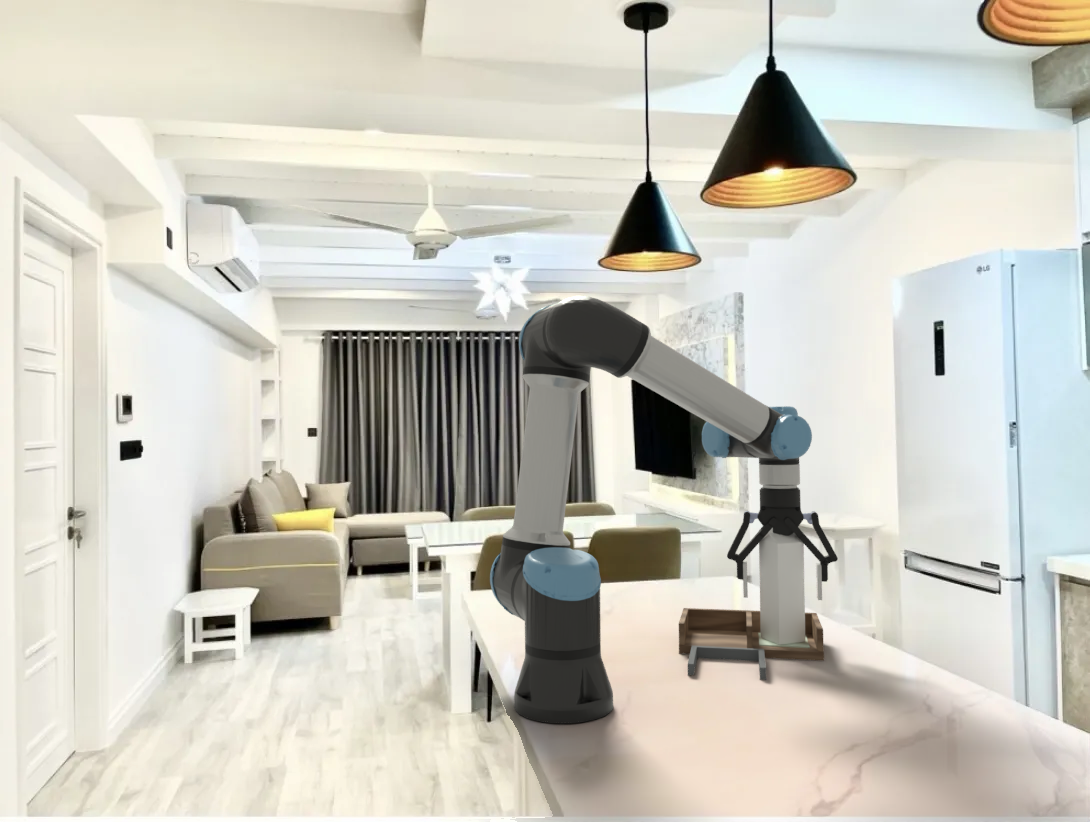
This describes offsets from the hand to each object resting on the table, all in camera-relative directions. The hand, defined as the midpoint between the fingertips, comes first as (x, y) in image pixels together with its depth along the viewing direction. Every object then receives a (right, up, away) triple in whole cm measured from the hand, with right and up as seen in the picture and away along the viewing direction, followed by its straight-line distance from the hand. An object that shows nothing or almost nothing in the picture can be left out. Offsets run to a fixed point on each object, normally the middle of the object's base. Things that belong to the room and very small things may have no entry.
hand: (782, 597), depth 154 cm
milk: (0, -8, 0) cm, 8 cm away
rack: (-6, -10, +1) cm, 12 cm away
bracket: (-13, -10, -12) cm, 21 cm away
